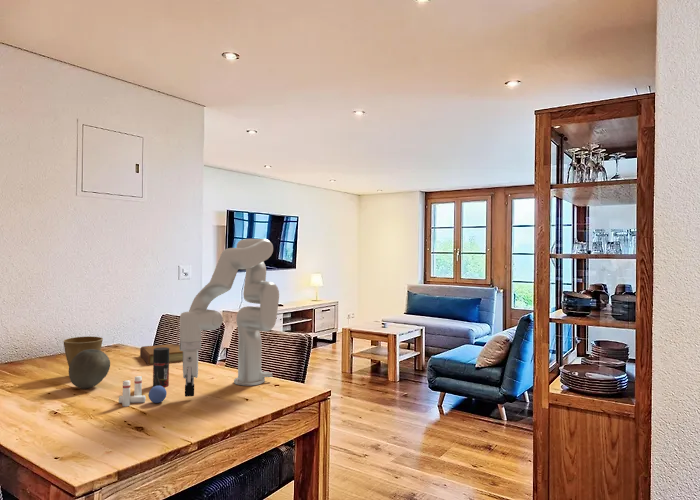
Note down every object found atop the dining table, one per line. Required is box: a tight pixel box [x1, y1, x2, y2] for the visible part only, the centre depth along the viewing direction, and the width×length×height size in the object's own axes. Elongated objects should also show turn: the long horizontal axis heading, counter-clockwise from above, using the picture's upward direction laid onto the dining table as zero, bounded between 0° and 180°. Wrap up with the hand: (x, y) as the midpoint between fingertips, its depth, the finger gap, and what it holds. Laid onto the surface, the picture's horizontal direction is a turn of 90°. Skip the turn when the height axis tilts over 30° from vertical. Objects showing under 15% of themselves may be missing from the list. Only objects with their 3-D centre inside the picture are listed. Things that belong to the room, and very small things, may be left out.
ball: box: [148, 386, 168, 404], centre depth 174 cm, size 6×6×6 cm
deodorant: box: [152, 347, 170, 388], centre depth 196 cm, size 6×6×15 cm
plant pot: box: [63, 336, 104, 367], centre depth 209 cm, size 15×15×16 cm
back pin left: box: [121, 379, 131, 408], centre depth 170 cm, size 2×2×8 cm
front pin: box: [118, 394, 147, 404], centre depth 173 cm, size 2×2×8 cm
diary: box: [139, 343, 183, 366], centre depth 246 cm, size 23×19×6 cm
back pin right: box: [133, 375, 143, 396], centre depth 176 cm, size 2×2×8 cm
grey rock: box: [68, 349, 111, 390], centre depth 192 cm, size 14×14×15 cm
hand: (189, 395), depth 178 cm, fingers closed
